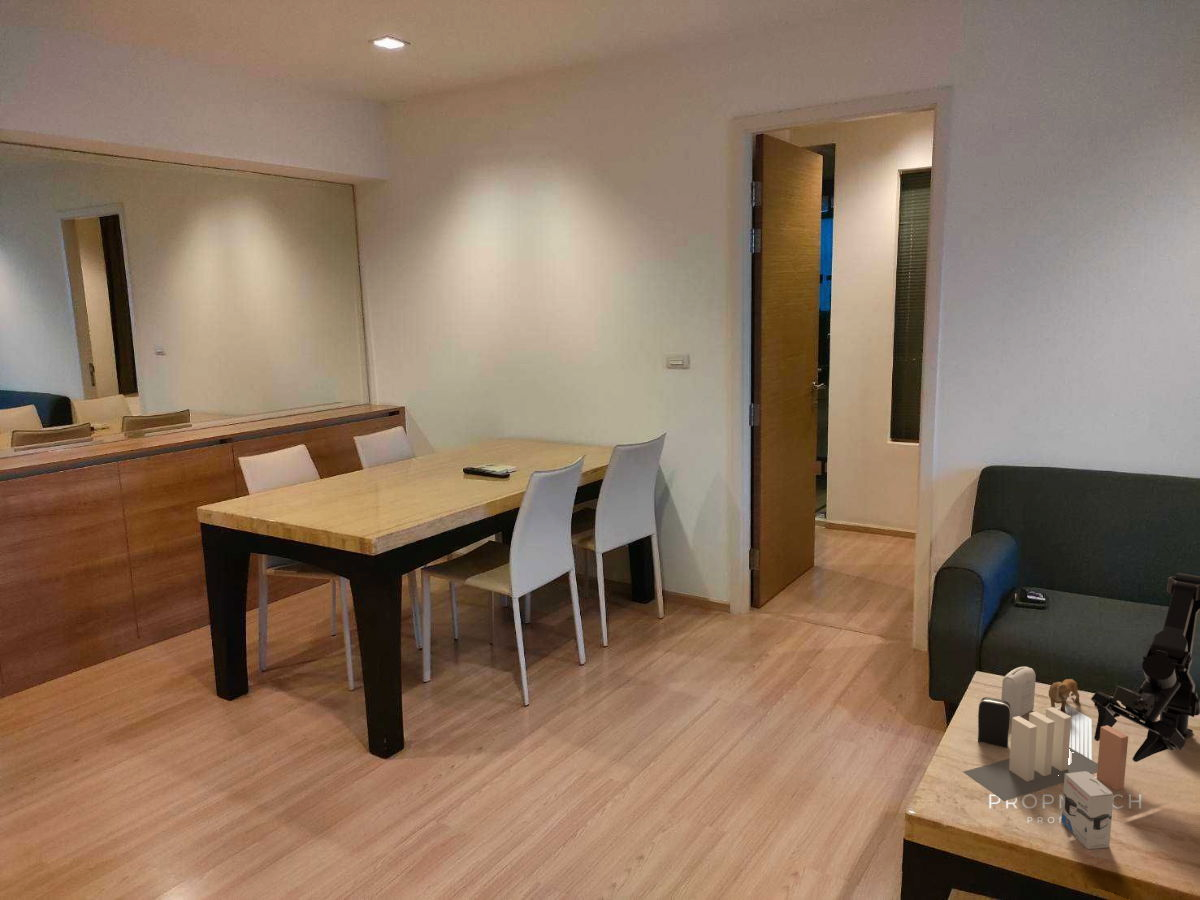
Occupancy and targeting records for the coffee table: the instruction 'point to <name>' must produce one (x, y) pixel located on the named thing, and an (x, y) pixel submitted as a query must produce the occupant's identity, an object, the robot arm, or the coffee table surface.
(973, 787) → the coffee table surface
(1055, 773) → the domino mat
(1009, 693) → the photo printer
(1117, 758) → the terracotta domino
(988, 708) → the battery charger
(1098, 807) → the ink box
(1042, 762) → the ivory domino
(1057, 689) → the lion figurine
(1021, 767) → the ivory domino
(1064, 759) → the ivory domino
